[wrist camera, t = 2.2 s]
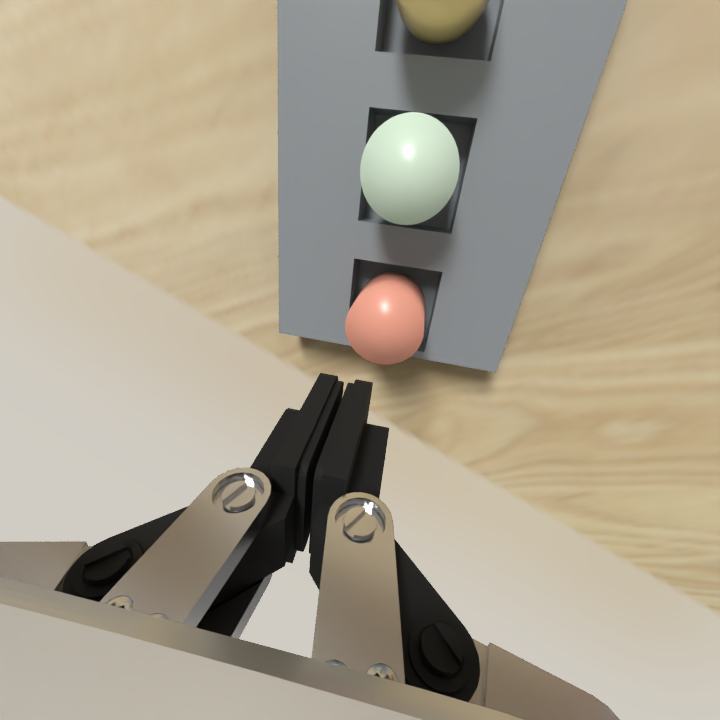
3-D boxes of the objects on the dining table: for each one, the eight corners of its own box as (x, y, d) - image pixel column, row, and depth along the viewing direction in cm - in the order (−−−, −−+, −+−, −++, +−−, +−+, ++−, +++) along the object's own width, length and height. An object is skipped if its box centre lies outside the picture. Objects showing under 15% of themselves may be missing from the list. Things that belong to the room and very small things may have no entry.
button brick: (431, 277, 19) (431, 298, 16) (418, 340, 21) (415, 371, 18) (363, 266, 20) (348, 284, 16) (356, 329, 22) (342, 357, 18)
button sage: (462, 131, 16) (471, 117, 13) (443, 221, 18) (446, 231, 15) (379, 122, 17) (366, 106, 13) (369, 211, 18) (355, 218, 15)
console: (630, -81, 14) (677, -141, 11) (488, 351, 24) (495, 372, 21) (302, -94, 15) (276, -150, 13) (295, 317, 25) (279, 332, 22)
